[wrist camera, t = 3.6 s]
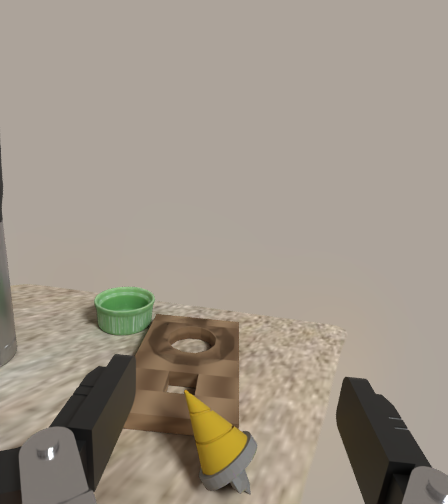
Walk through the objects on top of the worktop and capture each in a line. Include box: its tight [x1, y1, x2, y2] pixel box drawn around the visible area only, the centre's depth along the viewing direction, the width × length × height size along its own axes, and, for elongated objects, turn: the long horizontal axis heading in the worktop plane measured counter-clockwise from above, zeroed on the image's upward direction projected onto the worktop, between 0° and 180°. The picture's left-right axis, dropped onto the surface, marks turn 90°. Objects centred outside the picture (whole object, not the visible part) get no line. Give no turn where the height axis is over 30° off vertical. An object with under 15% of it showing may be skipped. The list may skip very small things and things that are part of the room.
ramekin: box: [94, 287, 155, 335], centre depth 50 cm, size 9×9×4 cm
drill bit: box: [184, 390, 257, 494], centre depth 27 cm, size 5×5×10 cm
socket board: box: [123, 314, 239, 436], centre depth 41 cm, size 13×20×2 cm, turn 178°
